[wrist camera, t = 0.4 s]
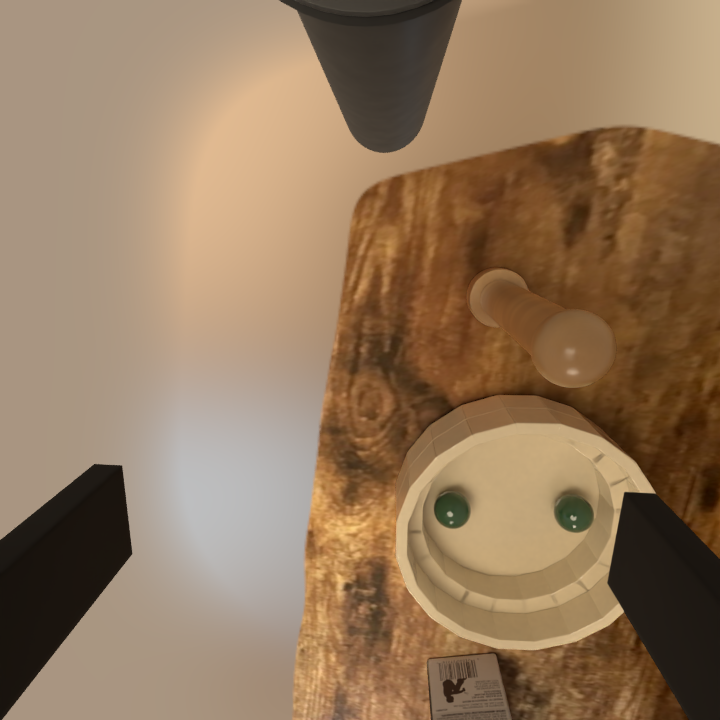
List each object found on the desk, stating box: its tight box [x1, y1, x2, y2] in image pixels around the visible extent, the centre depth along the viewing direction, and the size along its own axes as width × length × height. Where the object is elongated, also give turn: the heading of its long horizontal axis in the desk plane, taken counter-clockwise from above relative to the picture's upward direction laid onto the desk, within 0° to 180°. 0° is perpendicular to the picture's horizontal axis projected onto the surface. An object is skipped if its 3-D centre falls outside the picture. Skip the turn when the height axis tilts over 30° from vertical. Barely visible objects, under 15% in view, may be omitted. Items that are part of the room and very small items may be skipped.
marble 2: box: [553, 494, 594, 533], centre depth 37 cm, size 3×3×3 cm
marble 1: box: [434, 491, 471, 529], centre depth 37 cm, size 3×3×3 cm
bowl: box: [395, 395, 656, 650], centre depth 36 cm, size 18×18×6 cm
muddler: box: [466, 267, 617, 388], centre depth 27 cm, size 4×4×17 cm
